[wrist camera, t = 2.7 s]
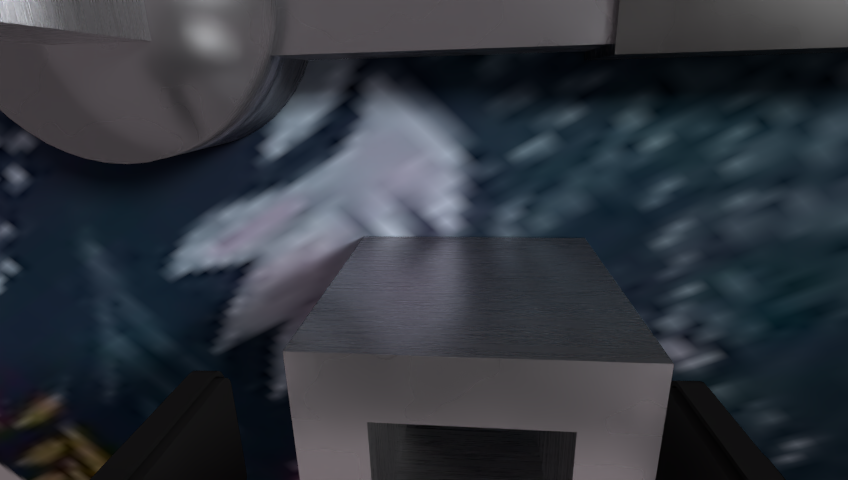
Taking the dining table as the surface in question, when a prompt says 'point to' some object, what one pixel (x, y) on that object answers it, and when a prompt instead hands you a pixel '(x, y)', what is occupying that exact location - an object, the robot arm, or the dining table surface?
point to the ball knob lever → (323, 54)
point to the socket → (476, 366)
